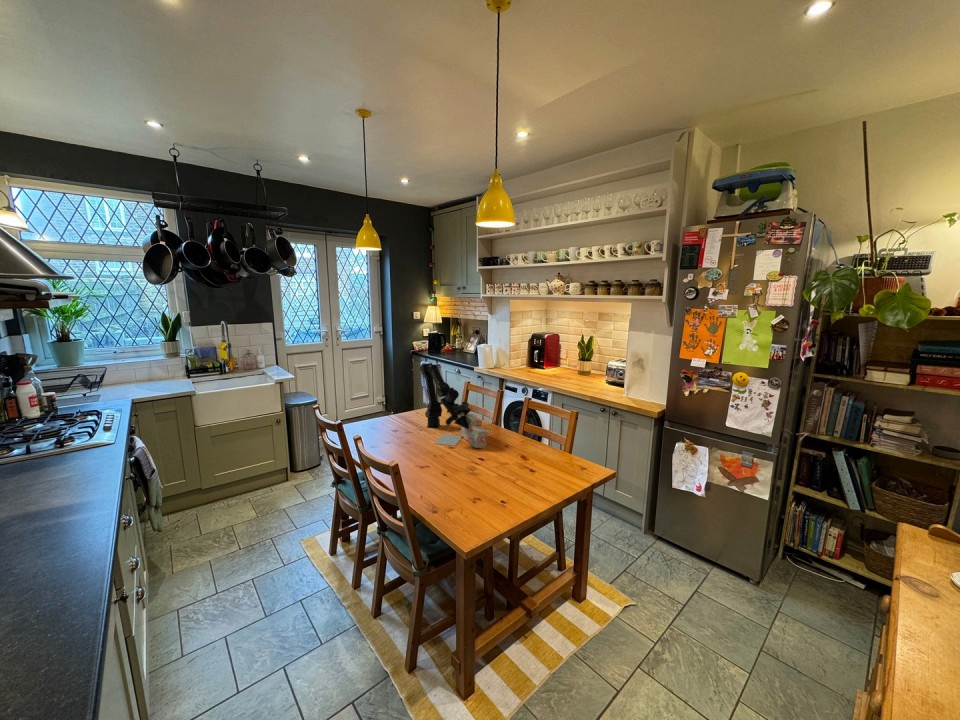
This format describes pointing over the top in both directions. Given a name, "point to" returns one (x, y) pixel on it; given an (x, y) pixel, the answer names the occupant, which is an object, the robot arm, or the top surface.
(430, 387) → the robot arm
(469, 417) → the stack of blocks
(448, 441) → the grey rubber mat
